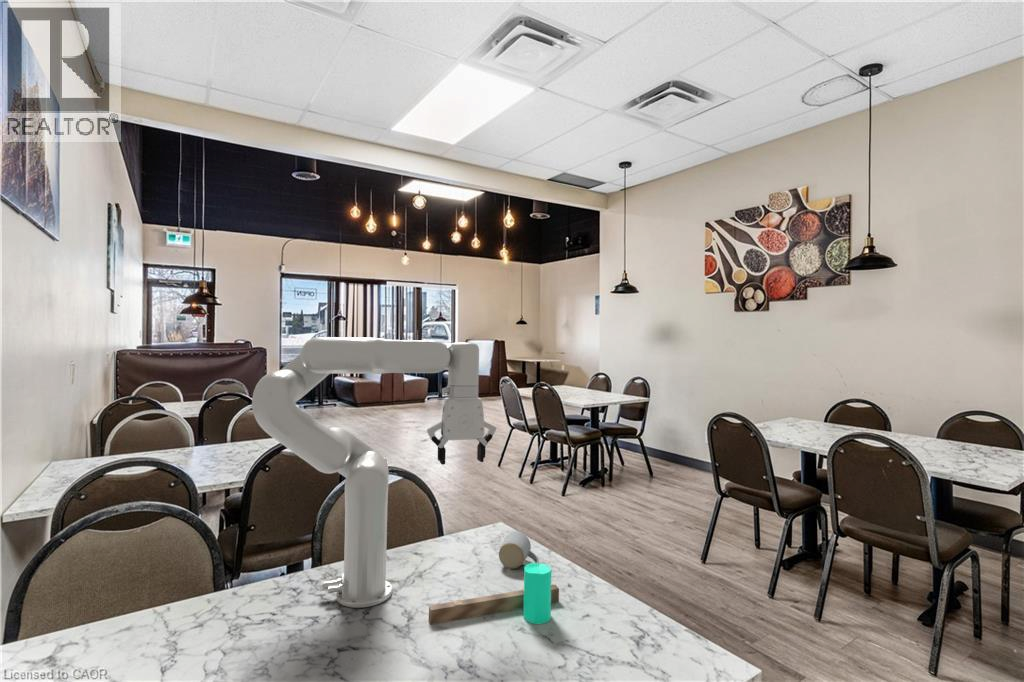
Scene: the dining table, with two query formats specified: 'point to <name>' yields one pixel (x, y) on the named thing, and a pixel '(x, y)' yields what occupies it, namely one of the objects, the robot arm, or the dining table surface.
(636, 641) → the dining table surface
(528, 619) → the candle
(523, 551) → the ceramic mug
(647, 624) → the dining table surface
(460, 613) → the rail
